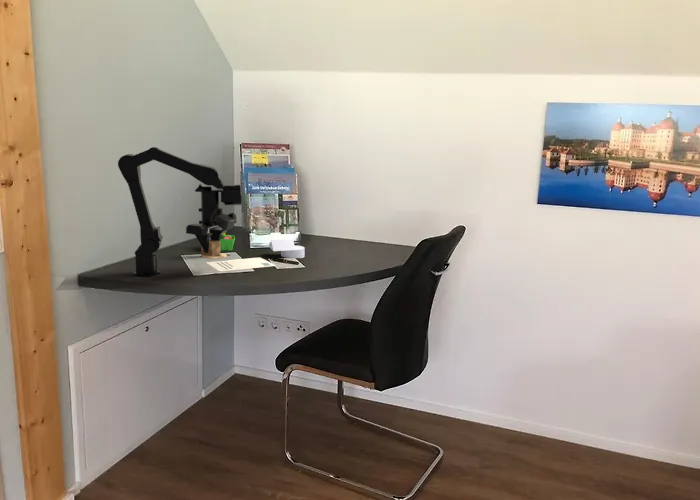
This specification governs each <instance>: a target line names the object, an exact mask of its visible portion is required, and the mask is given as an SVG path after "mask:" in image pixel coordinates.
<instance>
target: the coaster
mask: <svg viewBox="0 0 700 500" xmlns="http://www.w3.org/2000/svg"><path fill="white" fill-rule="evenodd" d="M201 256H202V258H204V259H210V260H211V259H213V260H214V259H215V260H216V259H217V260H218V259H223V258H226V257H227V254H226V253H223V252H221V254H220V256H215V257H211V256H204V255H201Z"/></svg>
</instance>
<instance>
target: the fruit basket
mask: <svg viewBox="0 0 700 500" xmlns="http://www.w3.org/2000/svg"><path fill="white" fill-rule="evenodd" d="M226 233H227V231H226V232H224V233H223V234H222V236H221V239H220V244H221V251H233V247H234V243H235V240H236V237H235V235H233V234H232V235H230V234H226Z"/></svg>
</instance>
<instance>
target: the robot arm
mask: <svg viewBox="0 0 700 500" xmlns="http://www.w3.org/2000/svg"><path fill="white" fill-rule="evenodd" d="M152 161H156V162H158V163H161V164H163V165H165V166H169V167H171V168H174V169H176V170H178V171H181V172H184V173H185V174H188V175H190V176H191V177H192V178H194V179H196V181H199V182H200V183H199V185H198V186H197V187H196V188H195V190H194V191H195V192H196V193H200V195H201V196H200V203H201V205H200V206H201V207H199V208H198V212H200V213H201V215H200V216H201V220H198V223H190V224H188V225H187V226H186V227H185V233H186V234H189V235H194V236H195V237H196V240H197V241H198V242H199V244H200V247H201V246H202V248H203V250H204V252H205V253H208V250H209V238H210V237H211V240H214V241H220V239H221V236H222V234H223V233H224V232H226V233H227V231H228V230H231V229H233V228H234V225H235V224H238V223H237V214H236V213H234V212H229V213H226V214H224V213H223V208H221V207H220V202H221V203H222V204H224V206H242V202H243V201H242V197H243V196H242V190H241V189H242V186H241V184H233V185H232V184H231V185H230V184H227V185H226V184H224V181H222V180H221V178H219V177H220V176H219V170H217V169H216V168H215V167H214V166H210V165H206V164H201V163H195V162H192V161H190V160H187V159H184V158H182V157H179V156H177V155H175V154H172V153H170V152H167V151H164V150H162V149H161V148H159V147H156V146H152V147H150V148H149V149H146V150H144V151H142V152H139V153H137V154H131V153H128V154H125V155H122V156H120V157H119V159H118V160H117V167H118V169H119V171H120V173H121V175H122V177H123V179H124V180H125V183H126V184H127V185H128V189H129V192H130V196H131V199H132V203H133V206H134V209H135V213H136V216H137V219H138V224H139V228H140V229H139V230H140V231H139V234H140V237H139V238H140V245H139V246H138V247H137V248H136V250H135V251H134V255H135V258H134V259H135V260H134V261H135V271H134V272H132V275H135V276H141V277H152V276H154V275H158V274H161V271H160V270H158V263H157V262H158V261H157V254H155V252H157V251H158V250H159V249H160V247H161V245H162V241H163V238H164V236H163V235H162V233H161V226H157V227H156V226H155V224H154V222H153V219H152V215H151V212H150V208H149V205H148V202H147V199H146V195H145V191H144V188H143V183H142V180H141V178H142V177H141V175H142V173H141V166H142V165H145V164H148V163H150V162H152ZM202 184H203V185H206V186H203V185H202ZM213 187H214V188H213ZM208 226H209V227H208ZM209 232H210V233H209Z"/></svg>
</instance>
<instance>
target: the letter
mask: <svg viewBox="0 0 700 500" xmlns="http://www.w3.org/2000/svg"><path fill="white" fill-rule="evenodd" d="M205 264H207V265H208V266H211V267H212V268H213V269H214V270H215V271H217V272H228V271H237V270H247V269H249V270H250V269H256V268H258V269H259V268H268V267H269V268H271V267H276V266H277V265H276V264H274V263H272V262H270V261H268V260H266V259H264V258H262V257H251V258H249V257H248V258H241V259H238V258H237V259H230V260H229V259H228V260H219V261H217V260H216V261H209V262H208V261H206V262H205Z"/></svg>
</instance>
